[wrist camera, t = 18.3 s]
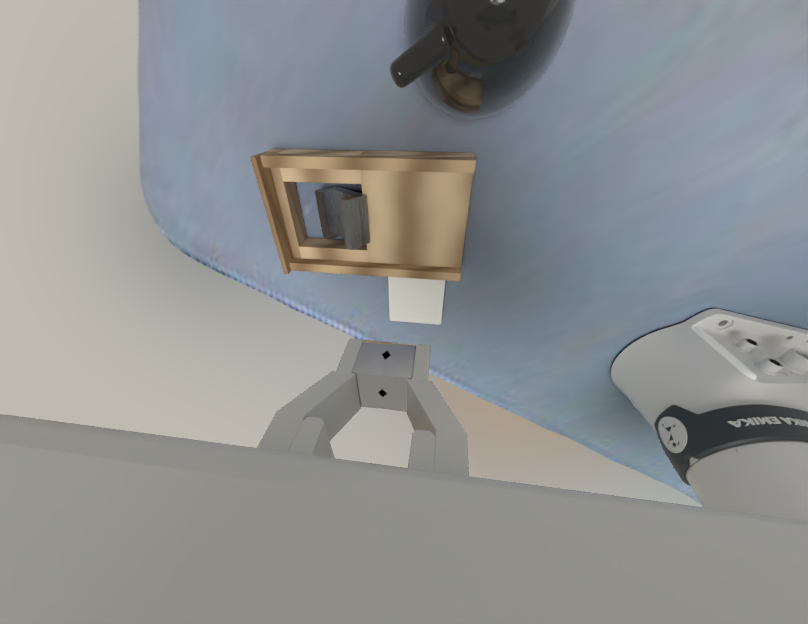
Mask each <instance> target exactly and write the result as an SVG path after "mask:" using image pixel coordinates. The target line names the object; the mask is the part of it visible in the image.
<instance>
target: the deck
mask: <svg viewBox="0 0 808 624" xmlns="http://www.w3.org/2000/svg"><path fill="white" fill-rule="evenodd" d="M250 158H251V162H252V165H253V169H254V172H255V176H256V179H257V182H258V186H259V189H260V193H261V196H262V200H263V203H264V206H265V210H266V213H267V217H268V220H269V223H270V227H271V230H272V234H273V237H274V241H275V244H276V247H277V251H278V254H279V258H280V261H281V265H282V268H283V271H284V274H289V272H290V271H291V270H293V271H308V272H324V273H339V274H354V275H369V276H385V277H400V278H415V279H431V280H446V281H460V277H461V262H462V254H463V247H464V239H465V232H466V224H467V216H468V209H469V201H470V194H471V186H472V179H473V173H475V166H476V158H475V155H474V153H464V152H415V151H365V150H316V149H272V150H269V151H266V152H263V153H260V154H257V155H254V156H252V157H250ZM295 182H314V183H344V184H361V185H362V194H365V195H366V201H367V213H368V226H369V238H370V243H368V244H366V245H363V246H361V247H359V248H356V249H354V250H350V249H348V248H346V245H345V240H341V239H322V238H307V234H306V229H305V225H304V220H303V215H302V211H301V206H300V202H299V197H298V192H297V188H296V183H295Z"/></svg>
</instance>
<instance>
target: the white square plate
mask: <svg viewBox="0 0 808 624" xmlns="http://www.w3.org/2000/svg"><path fill="white" fill-rule="evenodd" d="M388 286H389V311H390V321H401V322H414V323H426V324H438V325H441V319H442V309H443V299H444V289H445V280H431V279H415V278H400V277H388Z"/></svg>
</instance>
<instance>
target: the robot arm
mask: <svg viewBox="0 0 808 624" xmlns="http://www.w3.org/2000/svg"><path fill="white" fill-rule="evenodd" d="M429 361H430V346H429V345H415V344H402V343H388V342H379V341H370V340H359V339H350V340H349V341H348V343H347V346H346V348H345V351H344V353H343V356H342V358H341V360H340V363H339V365H338V368H337V370H336V371H332V372H330V373H329V374H328V375H326V376H325V377H323V378H322V379H321V380H319V381H318V382H317V383H315V384H314V385H312V386H311V387H310V388H309V389H307V390H306V391H304V392H303V393H302V394H300V395H299V396H297V397H296V398H295V399H293V400H292V401H291V402H289V403H288V404H286V405H285V406H284V407H282V408H281V409H280V410H278V411H277V412H276V414H275V416H274V417H273V419H272V421H271V423H270V425H269V427H268V429H267V431H266V432H265V434H264V436H263V438H262V440H261V441H260V443H259V445H258V447H257V448H252V447H244V446H236V445H229V444H221V443H214V442H207V441H199V440H192V439H184V438H177V437H169V436H162V435H154V434H147V433H139V432H132V431H124V430H116V429H109V428H102V427H94V426H87V425H79V424H72V423H64V422H56V421H49V420H41V419H34V418H27V417H19V416H12V415H0V624H808V330H805V329H801V328H797V327H792V326H788V325H784V324H780V323H776V322H771V321H767V320H763V319H759V318H755V317H750V316H746V315H742V314H738V313H734V312H730V311H725V310H721V309H709V310H706V311H704V312H701V313H699V314H697V315H696V316H694V317H692V318H690V319H688V320H687V321H685V322H683V323H680V324H678V325H675V326H671V327H668V328H665V329H661V330H658V331H656V332H653V333H651V334H648V335H646V336H644V337H642V338H640V339H638V340H637V341H635V342H634V343H632V344H631V345H629V346H628V347H627V348H626V349H624V350H623V351H622V352H621V353H620V354H619V356H618V357H617V358H616V360H615V361H614V363H613V365H612V368H611V378H612V380H613V382H614V384H615V385H616V386H617V387H618V388H619V389H620V390H621V391H622V392H623V393H624V394H625V395H626V396H627V397H628V398H629V399H630V402H631V403H632V404H633V406H634V407H635V408H636V409H638V410H639V412H640V413H641V414H642V415H643V417H644V418H645V419H646V421H647V422H648V423H649V425H650V426H651V427H652V429H653V430H654V431H655V432H656V434H657V435H658V437H659V440H660V442H661V444H662V447H663V450H664V451H665V453H666V455H667V456H668V458H669V460H670V462H671V463H672V465H673V467H674V469H675V470H676V472H677V473H678V474H679V476H680V477H681V479H682V480H683V481H684V482H685V483H686V484H687V485H689V486H691V488H692V489H693V491H694V493H695V494H696V496H697V498H698V499H699V501H700V503H701V504H702V506H703V507H696V506H688V505H681V504H673V503H666V502H658V501H651V500H643V499H635V498H628V497H620V496H613V495H605V494H598V493H590V492H582V491H575V490H567V489H559V488H552V487H545V486H537V485H529V484H522V483H515V482H507V481H499V480H492V479H484V478H477V477H469V470H468V469H469V467H468V446H467V434H466V432H465V431H464V429H463V428H462V427H461V425H460V423H459V422H458V420H457V419H456V417H455V416H454V414H453V413H452V411H451V410H450V408H449V407H448V405H447V403H446V402H445V400H444V399H443V397H442V396H441V394H440V393H439V391H438V390H437V388H436V387H435V385H434V384H433V382H432V381H428V374H429ZM361 407H371V408H382V409H390V410H397V411H405V412H407V415H408V417H409V419H410V421H411V423H412V426H413V428H414V430H415V431H414V432H413V433H412V440H411V447H410V455H409V463H408V468H402V467H395V466H387V465H380V464H372V463H364V462H356V461H349V460H342V459H335V458H334V455H333V451H332V448H331V445H330V440H331V439H332V438H333V437H334V436H335V435H336V434H337V432H339V431H340V430H341V429H342V428H343V426H344V425H345V424H346V423H347V422H348V421H349V420H350V419H351V418H352V417H353V416H354V415H355V414H356V413H357V412H358V411H359V409H360V408H361Z"/></svg>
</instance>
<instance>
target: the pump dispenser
mask: <svg viewBox="0 0 808 624" xmlns="http://www.w3.org/2000/svg"><path fill="white" fill-rule="evenodd" d="M575 2H576V0H406V6H405V18H404V34H405V45H406V51H404V52H403V53H402V54H401V55H400V56H399V57H398V58H397V59H396V60H395V61H394V62H393V63H392V64H391V67H390V72H391V76H392V78H393V81H394V82H395V84H396V85H397V86H398V87H400V88H404V87H405V86H407V85H408V84H410V83H412V82H413V81H415V80H416V82H417V84H418V86H419V88H420V89H421V91H422V92H423V94H424V95H425V96H426V97H427V99H428V100H429V101H430V102H431V103H432V104H433V105H435V106H436V107H437V108H438V109H440V110H441V111H443V112H445V113H447V114H449V115H451V116H454V117H457V118H462V119H481V118H486V117H490V116H493V115H495V114H498V113H500V112H502V111H504V110H506V109H507V108H509V107H511V106H512V105H514V104H515V103H516V102H518V101H519V100H520V99H521V98H522V97H523V96H525V95H526V94H527V93H528V92H529V91H530V90H531V89H532V88H533V87H534V85H535V84H536V83H537V82H538V81H539V80H540V78H541V77H542V76H543V74H544V73H545V72H546V70H547V69H548V67H549V66H550V64H551V63H552V61H553V59H554V58H555V56H556V54H557V52H558V50H559V48H560V46H561V44H562V42H563V39H564V37H565V35H566V32H567V30H568V27H569V24H570V21H571V18H572V14H573V10H574V6H575Z"/></svg>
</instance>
